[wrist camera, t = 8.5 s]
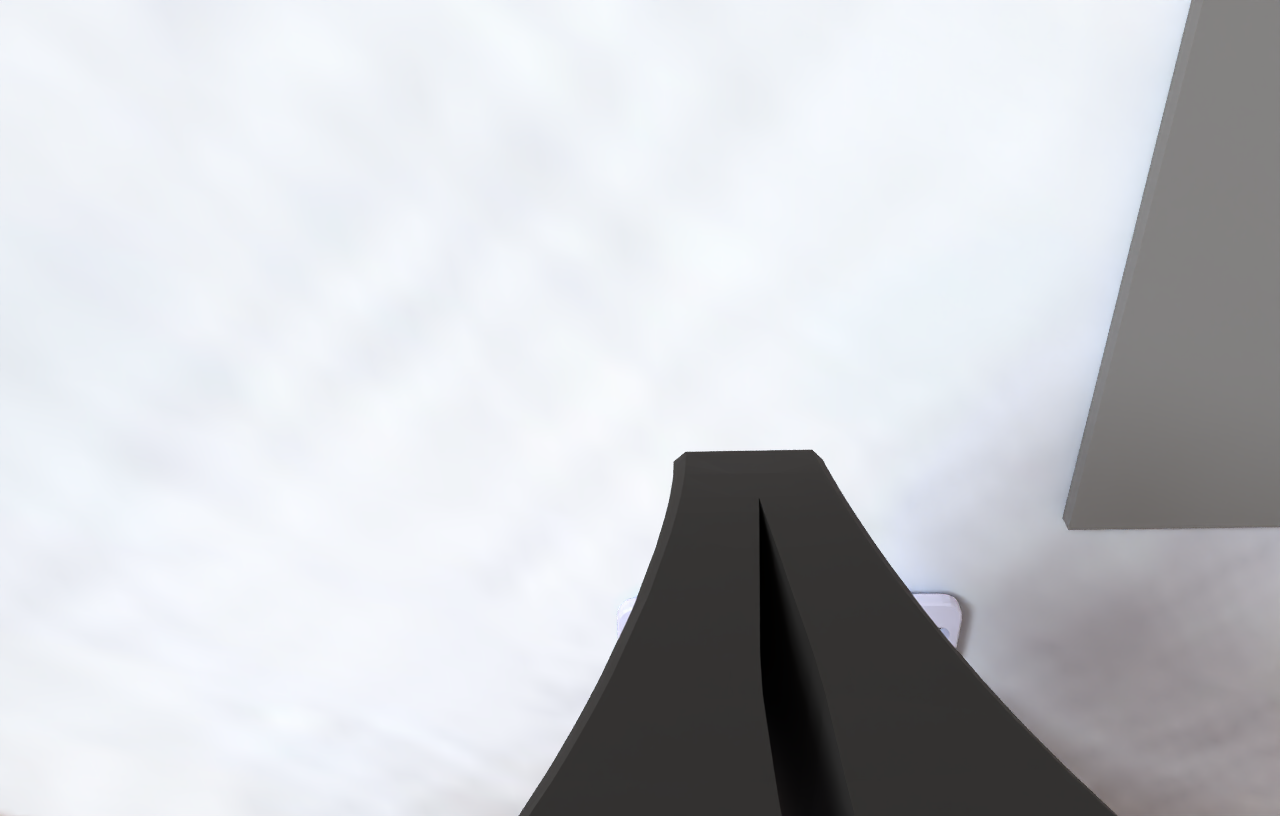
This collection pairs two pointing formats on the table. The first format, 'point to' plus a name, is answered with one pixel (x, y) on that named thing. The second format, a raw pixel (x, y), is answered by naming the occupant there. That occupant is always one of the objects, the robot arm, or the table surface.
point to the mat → (1198, 301)
